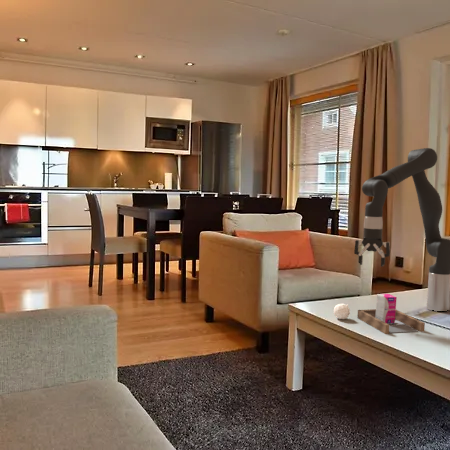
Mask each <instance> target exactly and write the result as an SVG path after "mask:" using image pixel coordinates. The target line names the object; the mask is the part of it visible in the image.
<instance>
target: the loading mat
mask: <svg viewBox="0 0 450 450" xmlns="http://www.w3.org/2000/svg"><path fill="white" fill-rule="evenodd" d="M417 332H419V331H418V330H416V329H414V328H412V327H410V326H408V325H406V324H404V323H400V324H398V323H397V324H389V334H399V333H400V334H401V333H417Z"/></svg>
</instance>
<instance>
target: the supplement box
mask: <svg viewBox="0 0 450 450" xmlns="http://www.w3.org/2000/svg"><path fill="white" fill-rule="evenodd" d="M375 309H376V316H375V318H377V319H379V320H381V321H383V322H385V323H387V324H389V325H396V324H395V323H396V322H395V321H396V319H395V312H396V310H397V296H395V295H393V294H390V293H380V294H379V293H377V294H376V305H375Z"/></svg>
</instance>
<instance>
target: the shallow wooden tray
mask: <svg viewBox="0 0 450 450" xmlns="http://www.w3.org/2000/svg"><path fill="white" fill-rule="evenodd" d="M375 316H376V308H373V309H372V308H371V309H357V320H358V319H359V320H360V321H362V322H363V323H365V324H367V325H369V326H371V327H372V328H374V329H376V330H378V331H380V332H381V333H382V334H385V335H389V334H390V333H389V325H390V324H387V323H385V322H383V321H381V320H379V319H377V318H375ZM395 321H398V322H400V323H401V324H406V325H408V326H410V327H412V328H414V329H416V330H418V332H420V333H424V332H425V327H426V326H425V322H423V321H422V320H419V319H417V318H414V317H413V316H412V315H411V316H410V315H408V314H406V313H404V312H402V311H400V310H398V309H396V312H395Z"/></svg>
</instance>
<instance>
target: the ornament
mask: <svg viewBox="0 0 450 450" xmlns="http://www.w3.org/2000/svg"><path fill="white" fill-rule="evenodd" d="M350 311H351V309H350V308H349V304H347V303H346V304H345V303H338V304H336V305H335V306H334V308H333V314H334V316H335V317H336V318H337V319H339V320H346V319H348V318H349V316H350V314H351V312H350Z"/></svg>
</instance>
